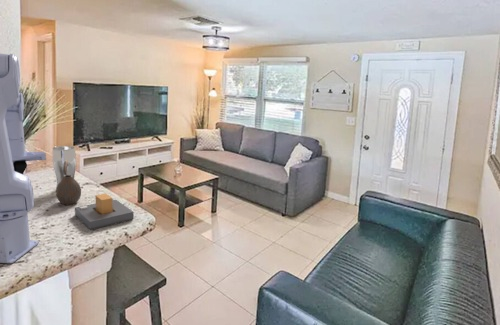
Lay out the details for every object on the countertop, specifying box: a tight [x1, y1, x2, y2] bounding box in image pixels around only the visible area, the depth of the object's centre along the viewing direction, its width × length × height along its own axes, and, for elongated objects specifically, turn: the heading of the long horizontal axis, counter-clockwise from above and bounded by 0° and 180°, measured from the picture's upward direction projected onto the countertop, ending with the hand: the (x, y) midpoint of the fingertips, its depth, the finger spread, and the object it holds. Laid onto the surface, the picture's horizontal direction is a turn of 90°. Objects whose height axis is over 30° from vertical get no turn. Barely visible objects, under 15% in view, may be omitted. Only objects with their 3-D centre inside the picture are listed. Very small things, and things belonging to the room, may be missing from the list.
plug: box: [95, 193, 113, 215], centre depth 94 cm, size 4×3×6 cm, turn 45°
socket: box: [74, 199, 135, 231], centre depth 95 cm, size 12×12×3 cm
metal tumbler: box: [52, 145, 77, 189], centre depth 113 cm, size 7×7×15 cm
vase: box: [55, 175, 82, 206], centre depth 103 cm, size 7×7×9 cm
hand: (15, 189), depth 86 cm, fingers closed
